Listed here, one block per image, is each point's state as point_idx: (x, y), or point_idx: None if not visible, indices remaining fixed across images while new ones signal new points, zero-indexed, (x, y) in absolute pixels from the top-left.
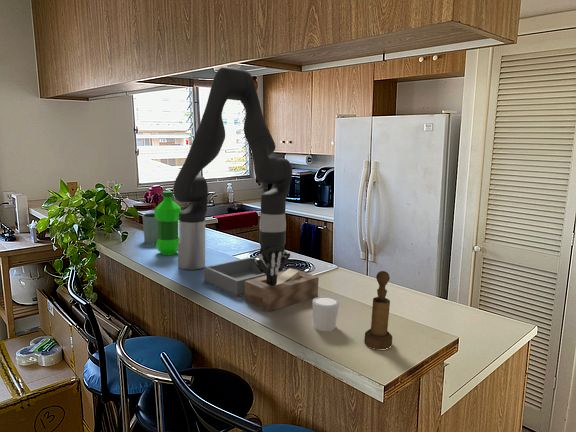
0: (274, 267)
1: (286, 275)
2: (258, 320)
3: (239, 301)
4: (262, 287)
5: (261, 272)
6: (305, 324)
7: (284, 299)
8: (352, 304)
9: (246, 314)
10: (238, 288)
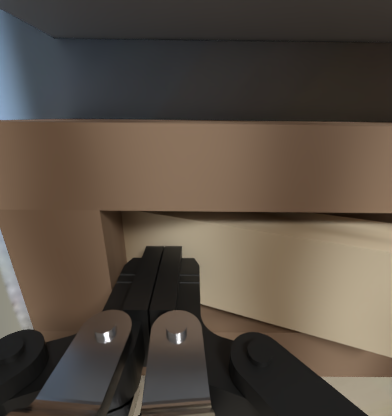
0: (209, 387)
1: (332, 299)
2: (24, 313)
3: (38, 111)
4: (42, 316)
5: (8, 339)
6: (141, 396)
7: None
8: (375, 390)
9: (4, 254)
10: (28, 16)
